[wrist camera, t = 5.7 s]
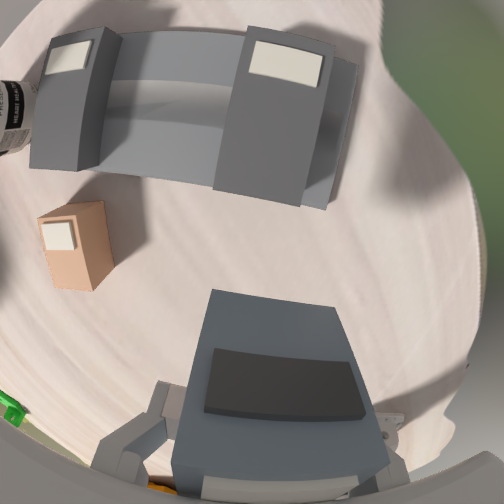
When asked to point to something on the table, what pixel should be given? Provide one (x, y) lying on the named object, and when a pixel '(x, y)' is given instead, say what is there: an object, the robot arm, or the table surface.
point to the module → (274, 407)
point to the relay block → (77, 245)
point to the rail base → (197, 110)
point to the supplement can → (16, 115)
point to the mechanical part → (12, 410)
